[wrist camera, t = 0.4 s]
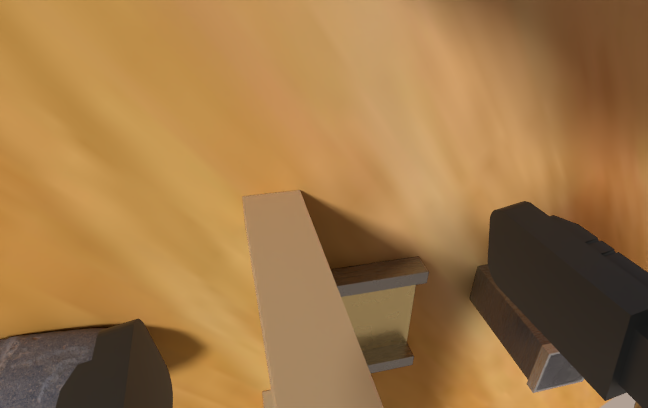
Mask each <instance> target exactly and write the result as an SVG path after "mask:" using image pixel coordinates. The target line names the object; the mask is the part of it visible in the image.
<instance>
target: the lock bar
mask: <svg viewBox="0 0 648 408" xmlns="http://www.w3.org/2000/svg"><path fill="white" fill-rule="evenodd" d="M470 300H471V302H472V303H473V305H474V306H475V307H476V309H477V310H478V311H479V313H480V314H481V316H482V317H483V318H484V320H485V321H486V322H487V324H488V325H489V327H490V328H491V329H492V331H493V332H494V333H495V335H496V336H497V338H498V339H499V340H500V342H501V343H502V344H503V346H504V347H505V349H506V350H507V351H508V353H509V354H510V355H511V357H512V358H513V360H514V361H515V362H516V364H517V365H518V366H519V368H520V369H521V371H522V372H523V373H524V375H525V376H526V377H527V379H528V382H527V385H528V386H529V388H530V389H531V391H532V392H533V393H534V392H539V391H543V390H547V389H552V388H556V387H560V386H565V385H569V384H573V383H578V382H582V381H583V380H584V378H583V377H582V376H581V375H580V373H579V372H578V371H577V370H576V369H575V368H574V367H573V366H572V365H571V364H570V363H569V362H568V361H567V360H566V359H565V358H564V357H563V355H562V354H561V353H560V352H559V351H558V350H557V349H556V348H555V347H554V346H553V345H552V344H551V343H550V342H549V341H548V340H547V338H546V337H545V336H544V335H543V334H542V333H541V332H540V331H539V330H538V329H537V328H536V327H535V326H534V325H533V324H532V323H531V322H530V320H529V319H528V318H527V317H526V316H525V315H524V314H523V313H522V312H521V311H520V310H519V309H518V308H517V307H516V306H515V305H514V303H513V302H512V301H511V300H510V299H509V298H508V297H507V296H506V295H505V294H504V293H503V292H502V291H501V290H500V289H499V287H498V286H497V285H496V284H495V282H494V280H493V278H492V276H491V274H490V271H489V267H488V265H482V266H478V267H477V271H476V275H475V279H474V283H473V287H472V291H471V295H470Z"/></svg>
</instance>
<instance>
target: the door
mask: <svg viewBox="0 0 648 408" xmlns="http://www.w3.org/2000/svg"><path fill="white" fill-rule="evenodd" d="M242 198H243V208H244V218H245V227H246V233H247V239H248V246H249V252H250V258H251V265H252V271H253V277H254V284H255V290H256V296H257V303H258V309H259V315H260V321H261V328H262V334H263V340H264V347H265V353H266V359H267V366H268V372H269V378H270V385H271V390H269V391H264V392H262V394H263V404H264V408H384V407H383V405H382V402H381V399H380V397H379V394H378V392H377V389H376V386H375V384H374V381H373V379H372V376H371V373H370V371H369V368H368V366H367V363H366V361H365V358H364V355H363V353H362V350H361V348H360V345H359V342H358V340H357V337H356V335H355V332H354V329H353V327H352V324H351V322H350V319H349V316H348V314H347V311H346V309H345V306H344V303H343V301H342V298H341V296H340V293H339V290H338V288H337V285H336V283H335V280H334V277H333V275H332V272H331V270H330V267H329V264H328V262H327V259H326V257H325V254H324V252H323V249H322V246H321V244H320V241H319V239H318V236H317V233H316V231H315V228H314V226H313V223H312V220H311V218H310V215H309V213H308V210H307V207H306V205H305V202H304V200H303V197H302V194H301V192H300V190H297V191H288V192H279V193H270V194H261V195H252V196H243V197H242Z"/></svg>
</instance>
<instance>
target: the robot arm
mask: <svg viewBox="0 0 648 408" xmlns="http://www.w3.org/2000/svg"><path fill="white" fill-rule="evenodd" d="M488 267H489V271H490V274H491V276H492V278H493V280H494V282H495V284H496V285H497V286H498V287H499V289H500V290H501V291H502V292H503V293H504V294H505V295H506V296H507V297H508V298H509V299H510V300H511V301H512V302H513V303H514V305H515V306H516V307H517V308H518V309H519V310H520V311H521V312H522V313H523V314H524V315H525V316H526V317H527V318H528V319H529V320H530V322H531V323H532V324H533V325H534V326H535V327H536V328H537V329H538V330H539V331H540V332H541V333H542V334H543V335H544V336H545V337H546V338H547V340H548V341H549V342H550V343H551V344H552V345H553V346H554V347H555V348H556V349H557V350H558V351H559V352H560V353H561V354H562V355H563V357H564V358H565V359H566V360H567V361H568V362H569V363H570V364H571V365H572V366H573V367H574V368H575V369H576V370H577V371H578V372H579V373H580V375H581V376H582V377H583V378H584V379H585V380H586V381H587V382H588V383H589V384H590V385H591V386H592V387H593V388H594V389H595V390H596V392H597V393H598V394H599V395H600V396H601V397H602V398H603V399H604V400H605V401H606V400H609V399H611V398H614V397H616V396H619V395H621V394H624V393H626V392H627V393H628V394H629V395H630V396H631V397H632V398H633V399H634V400H635V401H636V403H635V406H634V408H648V272H646V271H645V270H643V269H642V268H641V267H639V266H638V265H636V264H635V263H633V262H632V261H630V260H629V259H628V258H626V257H625V256H623V255H622V254H620V253H619V252H618V253H615V251H614V249H613V248H612V247H610V246H609V245H607V244H606V243H604V242H603V241H599V240H598V238H597V237H596V236H594V235H593V234H591V233H590V232H588V231H587V230H585V229H584V228H583V227H581V226H580V225H578V224H576V223H573V222H570V221H568V220H565V219H562V218H559V217H557V216H554V215H553V216H550V217H549V216H548V215H547V214H545V213H544V212H542V211H541V210H540V209H538V208H537V207H535V206H534V205H533V204H531V203H529V202H526V201H524V202H520V203H517V204H513V205H510V206H507V207H504V208H500V209H497V210H494V211H493V212H492V214H491V216H490V229H489V248H488ZM172 407H173V392H172V384H171V379H170V375H169V372H168V369H167V366H166V364H165V362H164V360H163V359H162V357H161V355H160V353H159V351H158V349H157V347H156V345H155V344H154V342H153V340H152V338H151V336H150V334H149V332H148V330H147V328H146V327H145V325H144V323H143V322H142V321H141V320H140V319H135V320H132V321H129V322H126V323H122V324H119V325H116V326H113V327H109V328H106V329H103V330H100V331H99V333H98V335H97V338H96V343H95V347H94V352H93V357H92V360H90V361H87V362H84V363H81V364H78V365H77V366H76V367H75V369H74V370H73V372H72V373H71V375H70V376H69V378H68V379H67V381H66V382H65V384H64V385H63V387H62V388H61V390H60V393H59V397H58V400H57V404H56V408H172Z"/></svg>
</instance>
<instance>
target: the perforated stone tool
mask: <svg viewBox="0 0 648 408" xmlns="http://www.w3.org/2000/svg"><path fill="white" fill-rule="evenodd" d="M103 329H106V328H89V329H79V330H70V331H55V332H48V333H39V334H30V335H20V336H14V337H9V338H8V339H0V408H56V404H57V400H58V397H59V393H60V390H61V388H62V387H63V385H64V384H65V382H66V381H67V379H68V378H69V376H70V375H71V373H72V372H73V370H74V369H75V367H76V366H77V365H78V364H81V363H84V362H87V361H90V360H92V357H93V352H94V347H95V343H96V338H97V335H98V333H99V331H100V330H103Z"/></svg>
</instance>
